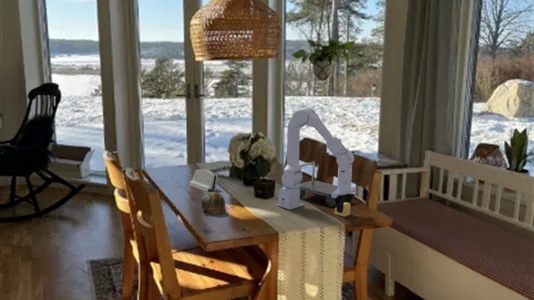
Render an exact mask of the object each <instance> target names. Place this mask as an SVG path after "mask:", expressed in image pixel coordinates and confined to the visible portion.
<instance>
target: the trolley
mask: <svg viewBox="0 0 534 300" xmlns="http://www.w3.org/2000/svg"><path fill="white" fill-rule="evenodd" d="M299 165H300V167H301V168H302V167H307V166H312V167H311V168H312V169H311V180H310V181H305V182H300V199H302V198H305V195H306V192H309V193H312V194H313V195H314V194H316V195H319V196H324V197H326V198H325V203H326V205H327V206H328V207H330V208H332V207H336V204H335V201H334V199H333V198H332V197H331V195H332V193H333V192H334V191H336V190H337V185H336V184H332V183H327V182H323V181H319V180H315V177H316V176H315V175H316V174H315V170H316V162H315V161H312V162H311V161H310V162H306V163H301V164H300V163H299Z"/></svg>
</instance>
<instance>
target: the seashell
mask: <svg viewBox="0 0 534 300" xmlns="http://www.w3.org/2000/svg"><path fill="white" fill-rule="evenodd" d="M200 200H201V202H200V203H201V208H202V210H203V211H206V212H207V213H208V214H212V215H221V214H223V213H225V212H226V211H227V210H226V200H225V198H224V197H223V195H222V194H221V193H219V192H216V191H211V192H207V193H206V194H205V195H204V196H202V198H201V199H200Z"/></svg>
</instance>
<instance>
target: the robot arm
mask: <svg viewBox="0 0 534 300" xmlns="http://www.w3.org/2000/svg"><path fill="white" fill-rule="evenodd" d="M304 126H306V127H311V128H314V130H316V131H317V132H318V134H319V135H320V136H321V138H323V139H324V141H325V142H326V143H325V144H326V148H327V149H329V151H330V152H331V154H332V155H333V156H334V157H335V158H336V164H337V165H338V168H337V182H336V183H337V185H336V186H337V190H336V191H334V192H333V193H332V195H331V197H332V198H333V199H334V201H335V204H336V205H335V208H337V212H339V213H342V211H343V205H344V202H347V203H350V205H351V204H352V202H353V200H354V198H355V195H356V194H355V193H356V189H357V188H356V187H353V186H352V178H353V177H352V175H353V163H354V161H355V155H354V153H353V152H352V151H351V150H349V148H347V147H346V146H344V144H343V143H342V139H341V138H338V137H337V136H333V135H332V133H331V132H330V131H329V129H328V128H327V126H326V125H325V124H324V122H323V121H322V120H321V118H320V116H319V115H318V113H317V112H315V110H314V109H313V108H311V107H306V108H301V109H297V110H296V111H295V112H293V113H292V116H291V119H290V120H289V122H288V124H287V135H286V136H287V137H286V138H287V140H286V142H287V144H286V165H285V168H284V169H283V175H282V177H281V184H282V185H283V187H282V188H281V189H279V191H278V203H277V204H276V205H277V207H280V208H284V209H287V210H293V209H296V208H300V207H303V206H304V205H305V204H304V203H300V201H301V200H300V199H301V198H300V184H301V183H302V181H303V177H304V176H303V175H304V174H303V173H302V167H300V139H301V138H300V135H301V134H300V131H301V129H302V128H303V127H304Z"/></svg>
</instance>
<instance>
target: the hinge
mask: <svg viewBox="0 0 534 300" xmlns="http://www.w3.org/2000/svg"><path fill="white" fill-rule="evenodd" d="M218 179H219V176H218V175H217V174H216V173H214V172H213V171H211V170H209V169H205V168H201V169H200V168H199V169H195V171H194V174H193V177H192V179H191V180H190V181H189V183H188V186H190V187H193V188H195V189H199V190H202V191H204V192H207V193H209V190H213V191H216V190H217V185H218Z"/></svg>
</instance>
